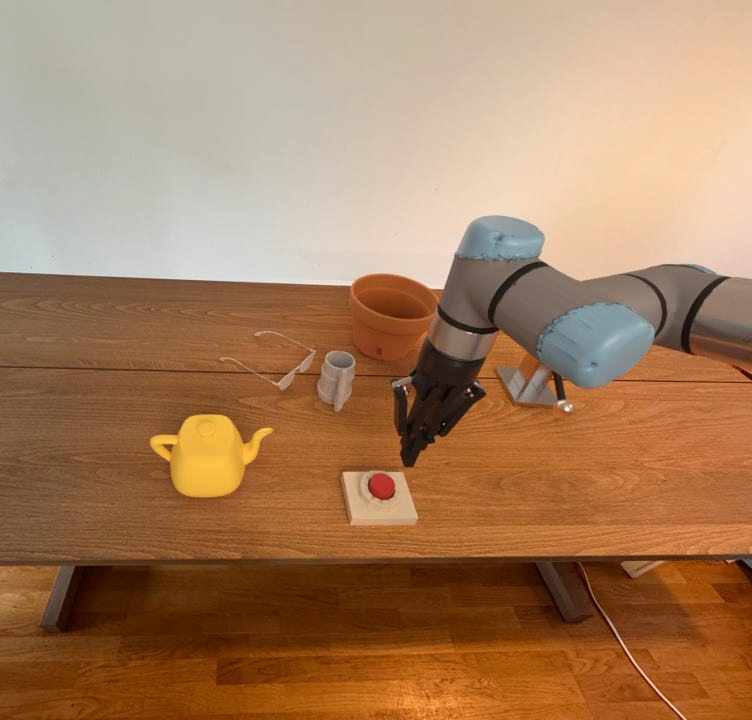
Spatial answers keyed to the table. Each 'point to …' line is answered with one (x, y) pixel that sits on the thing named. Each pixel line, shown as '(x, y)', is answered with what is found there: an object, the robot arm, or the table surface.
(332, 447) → the table surface
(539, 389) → the bracket
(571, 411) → the lever
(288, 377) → the eyeglasses
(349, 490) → the button box
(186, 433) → the teapot
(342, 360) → the mug
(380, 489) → the button
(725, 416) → the table surface
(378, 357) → the flower pot
